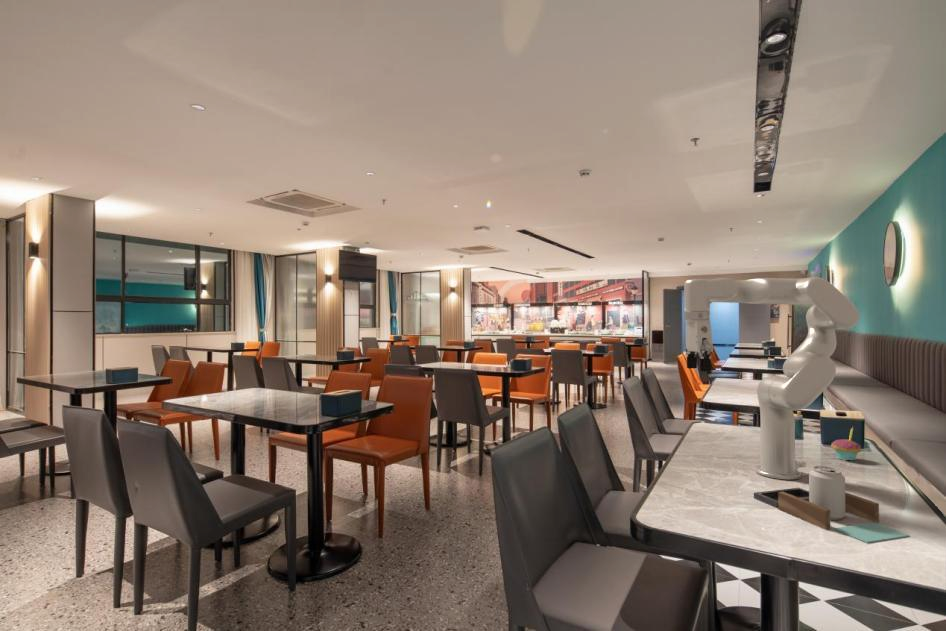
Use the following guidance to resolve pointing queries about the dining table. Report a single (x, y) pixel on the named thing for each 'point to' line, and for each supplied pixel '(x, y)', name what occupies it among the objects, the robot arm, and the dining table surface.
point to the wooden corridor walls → (821, 514)
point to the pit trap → (772, 496)
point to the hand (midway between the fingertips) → (698, 369)
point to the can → (828, 490)
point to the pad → (871, 532)
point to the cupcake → (846, 448)
